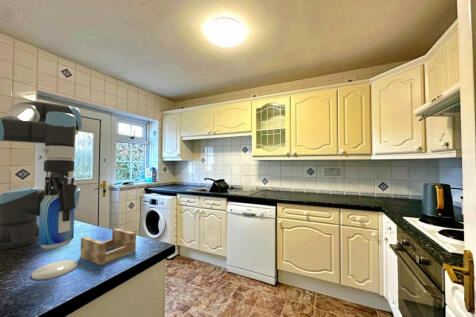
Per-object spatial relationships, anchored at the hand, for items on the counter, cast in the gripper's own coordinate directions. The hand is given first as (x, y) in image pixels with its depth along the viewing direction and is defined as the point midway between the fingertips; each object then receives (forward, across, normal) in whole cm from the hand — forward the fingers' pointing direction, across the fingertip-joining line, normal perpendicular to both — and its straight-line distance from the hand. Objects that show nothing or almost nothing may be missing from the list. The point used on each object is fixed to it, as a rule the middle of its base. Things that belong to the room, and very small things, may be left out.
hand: (57, 229), depth 65 cm
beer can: (+5, 0, 0) cm, 5 cm away
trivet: (+13, 0, 0) cm, 13 cm away
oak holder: (+13, +3, +15) cm, 20 cm away
